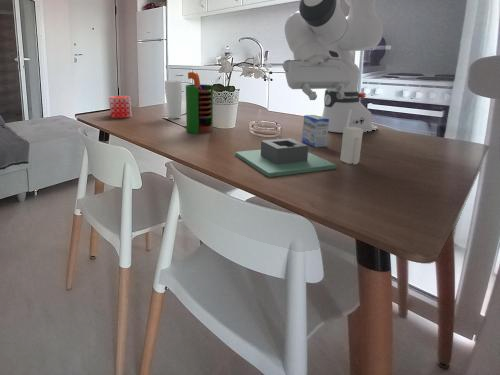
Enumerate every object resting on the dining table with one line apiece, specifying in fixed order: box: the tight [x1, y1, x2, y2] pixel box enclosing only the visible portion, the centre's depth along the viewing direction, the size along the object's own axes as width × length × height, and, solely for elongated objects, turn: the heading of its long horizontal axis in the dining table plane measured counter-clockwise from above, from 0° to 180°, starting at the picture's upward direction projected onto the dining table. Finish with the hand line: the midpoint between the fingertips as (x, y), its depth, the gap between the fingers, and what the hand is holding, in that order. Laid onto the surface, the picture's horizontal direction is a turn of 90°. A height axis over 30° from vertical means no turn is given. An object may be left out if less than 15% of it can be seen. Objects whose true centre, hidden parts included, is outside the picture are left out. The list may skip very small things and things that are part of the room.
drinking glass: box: [164, 79, 183, 119], centre depth 153 cm, size 7×7×15 cm
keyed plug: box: [339, 127, 364, 165], centre depth 98 cm, size 4×4×9 cm
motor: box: [185, 71, 214, 135], centre depth 129 cm, size 10×9×20 cm
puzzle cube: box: [108, 95, 132, 119], centre depth 157 cm, size 8×8×8 cm
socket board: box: [235, 137, 337, 178], centre depth 97 cm, size 19×20×5 cm
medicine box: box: [301, 114, 329, 148], centre depth 116 cm, size 8×4×9 cm, turn 23°
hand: (327, 98), depth 105 cm, fingers open, 8 cm apart
